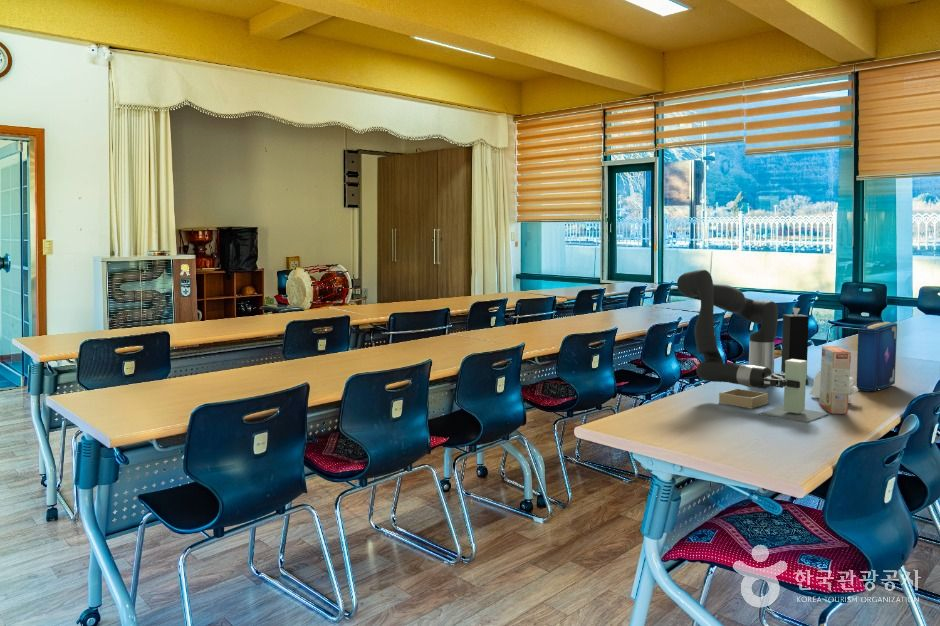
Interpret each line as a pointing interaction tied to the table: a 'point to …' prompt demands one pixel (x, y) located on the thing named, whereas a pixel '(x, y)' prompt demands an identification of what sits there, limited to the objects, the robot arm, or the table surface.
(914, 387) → the table surface
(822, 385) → the cracker box
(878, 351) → the book
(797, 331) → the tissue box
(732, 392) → the wooden square frame
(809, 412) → the mat
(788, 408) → the tea tin
